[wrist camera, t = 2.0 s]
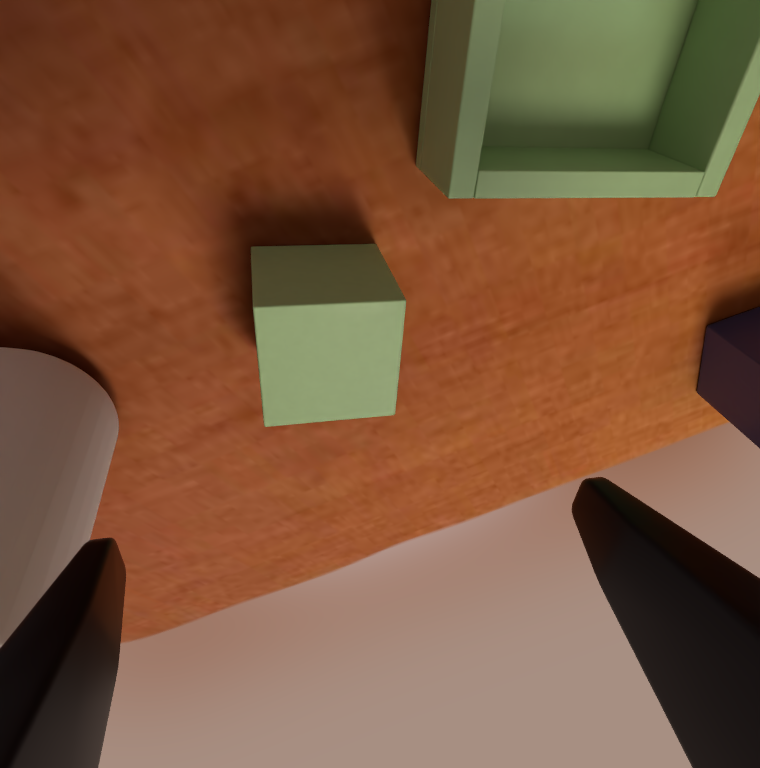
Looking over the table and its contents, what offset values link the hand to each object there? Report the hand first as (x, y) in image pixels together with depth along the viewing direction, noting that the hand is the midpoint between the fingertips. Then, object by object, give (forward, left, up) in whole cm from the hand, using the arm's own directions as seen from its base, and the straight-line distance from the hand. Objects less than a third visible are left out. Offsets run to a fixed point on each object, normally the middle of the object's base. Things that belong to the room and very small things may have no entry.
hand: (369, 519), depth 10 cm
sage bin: (-8, -8, -12) cm, 16 cm away
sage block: (0, +1, -12) cm, 12 cm away
